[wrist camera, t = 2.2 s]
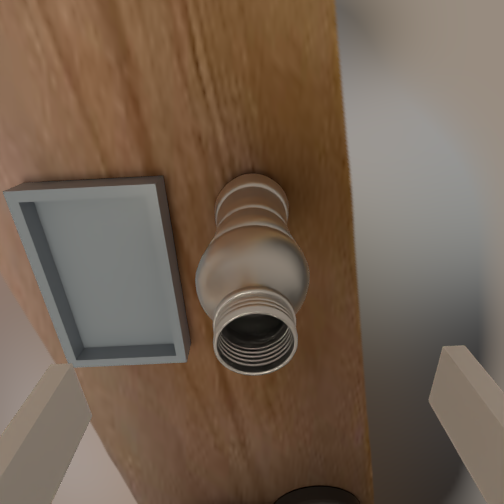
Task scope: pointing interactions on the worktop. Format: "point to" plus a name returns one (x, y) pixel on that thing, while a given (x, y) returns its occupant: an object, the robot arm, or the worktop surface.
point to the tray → (105, 268)
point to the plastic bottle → (252, 277)
